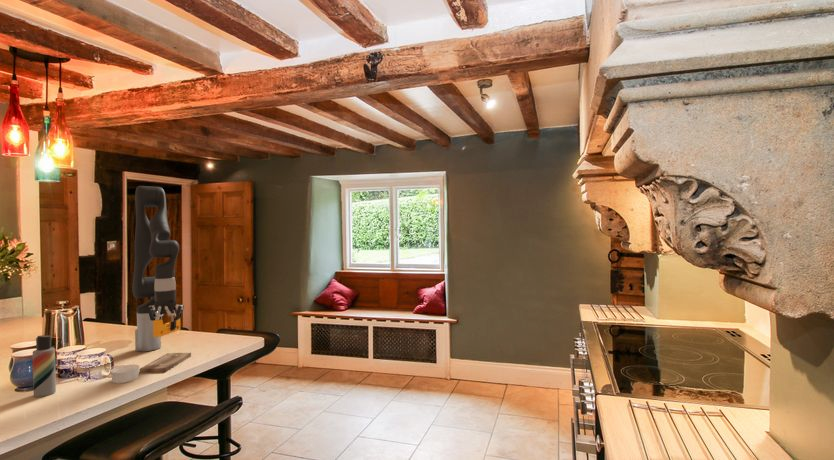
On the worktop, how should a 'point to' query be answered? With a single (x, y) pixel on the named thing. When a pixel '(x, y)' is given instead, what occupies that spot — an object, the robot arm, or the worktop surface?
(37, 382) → the lotion bottle
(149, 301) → the robot arm
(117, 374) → the ramekin
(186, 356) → the bolt plate
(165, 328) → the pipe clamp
